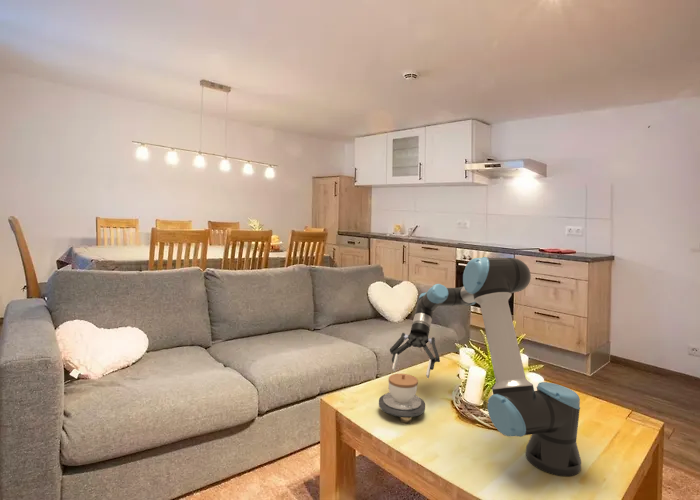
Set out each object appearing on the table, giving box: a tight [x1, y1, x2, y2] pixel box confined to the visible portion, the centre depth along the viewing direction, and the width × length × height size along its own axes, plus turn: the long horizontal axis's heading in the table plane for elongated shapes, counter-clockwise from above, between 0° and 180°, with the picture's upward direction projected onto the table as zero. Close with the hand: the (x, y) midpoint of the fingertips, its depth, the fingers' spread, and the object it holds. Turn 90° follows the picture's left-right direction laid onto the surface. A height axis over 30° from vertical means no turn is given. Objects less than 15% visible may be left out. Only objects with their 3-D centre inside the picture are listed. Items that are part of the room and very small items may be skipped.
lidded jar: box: [387, 373, 419, 403], centre depth 154 cm, size 11×11×9 cm
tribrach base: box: [378, 392, 426, 424], centre depth 155 cm, size 17×17×5 cm
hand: (410, 373), depth 164 cm, fingers open, 13 cm apart
